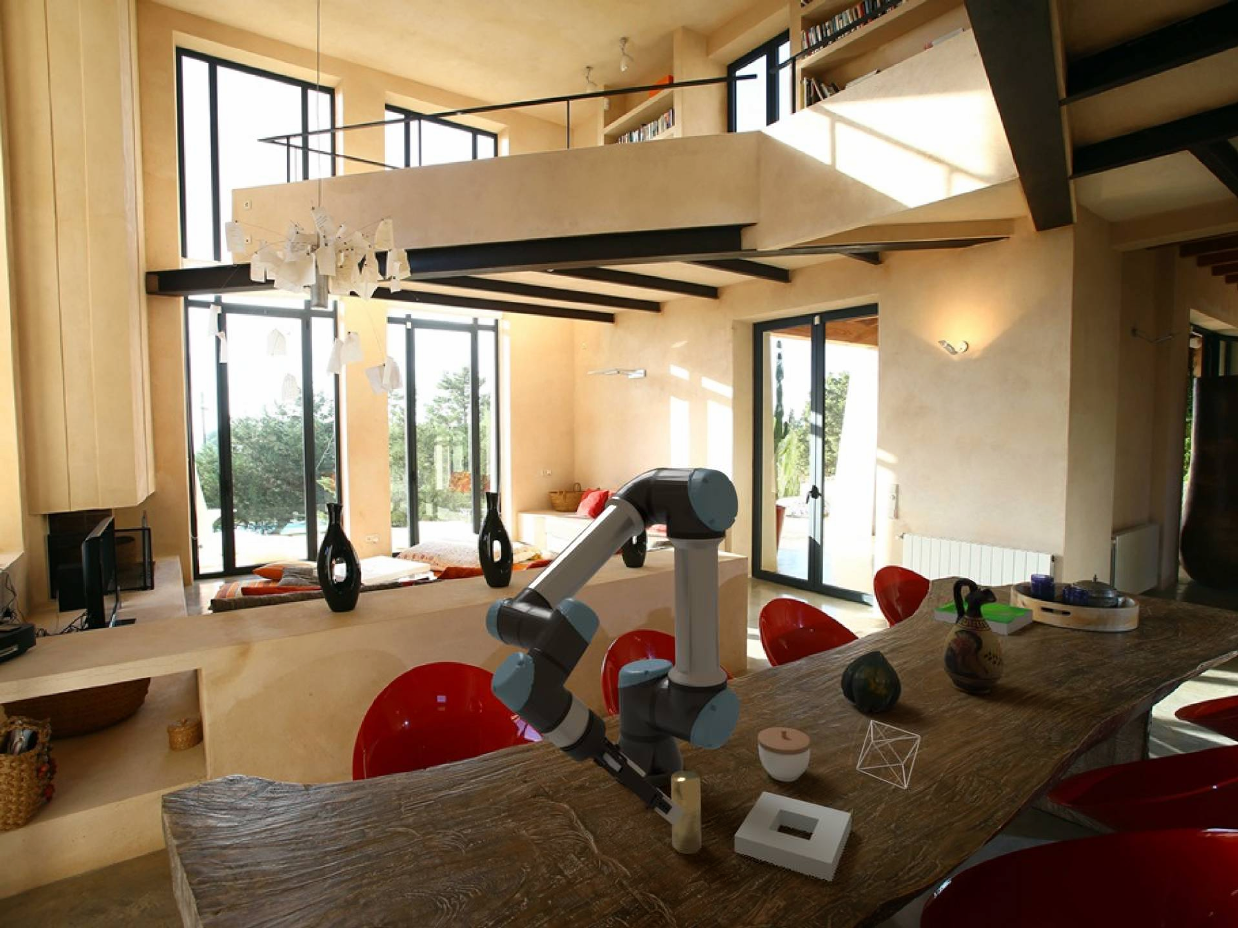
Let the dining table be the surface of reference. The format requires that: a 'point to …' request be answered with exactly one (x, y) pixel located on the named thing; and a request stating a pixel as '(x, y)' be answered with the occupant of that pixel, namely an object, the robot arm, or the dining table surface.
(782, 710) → the dining table surface
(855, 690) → the squash
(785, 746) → the lidded jar
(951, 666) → the ceramic jug
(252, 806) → the dining table surface
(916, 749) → the geometric polyhedron
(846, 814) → the frame
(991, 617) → the tray
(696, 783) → the gold cylinder
